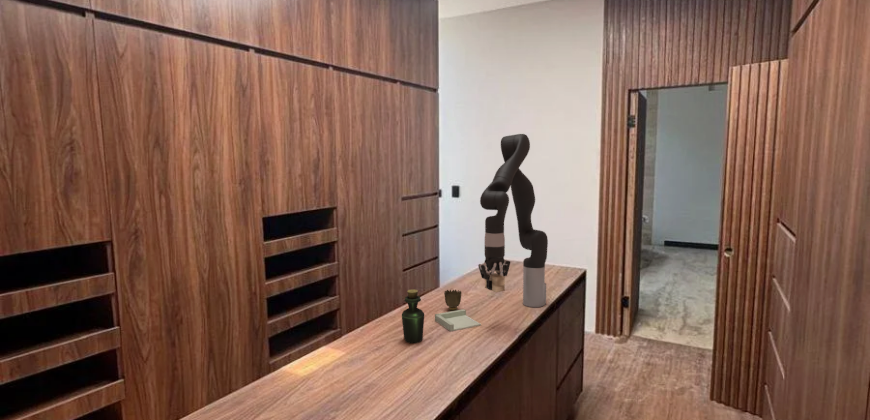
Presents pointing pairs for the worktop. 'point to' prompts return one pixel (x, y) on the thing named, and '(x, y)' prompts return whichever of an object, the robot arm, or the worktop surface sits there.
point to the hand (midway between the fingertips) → (494, 288)
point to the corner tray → (455, 320)
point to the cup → (452, 299)
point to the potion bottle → (413, 319)
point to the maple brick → (497, 283)
